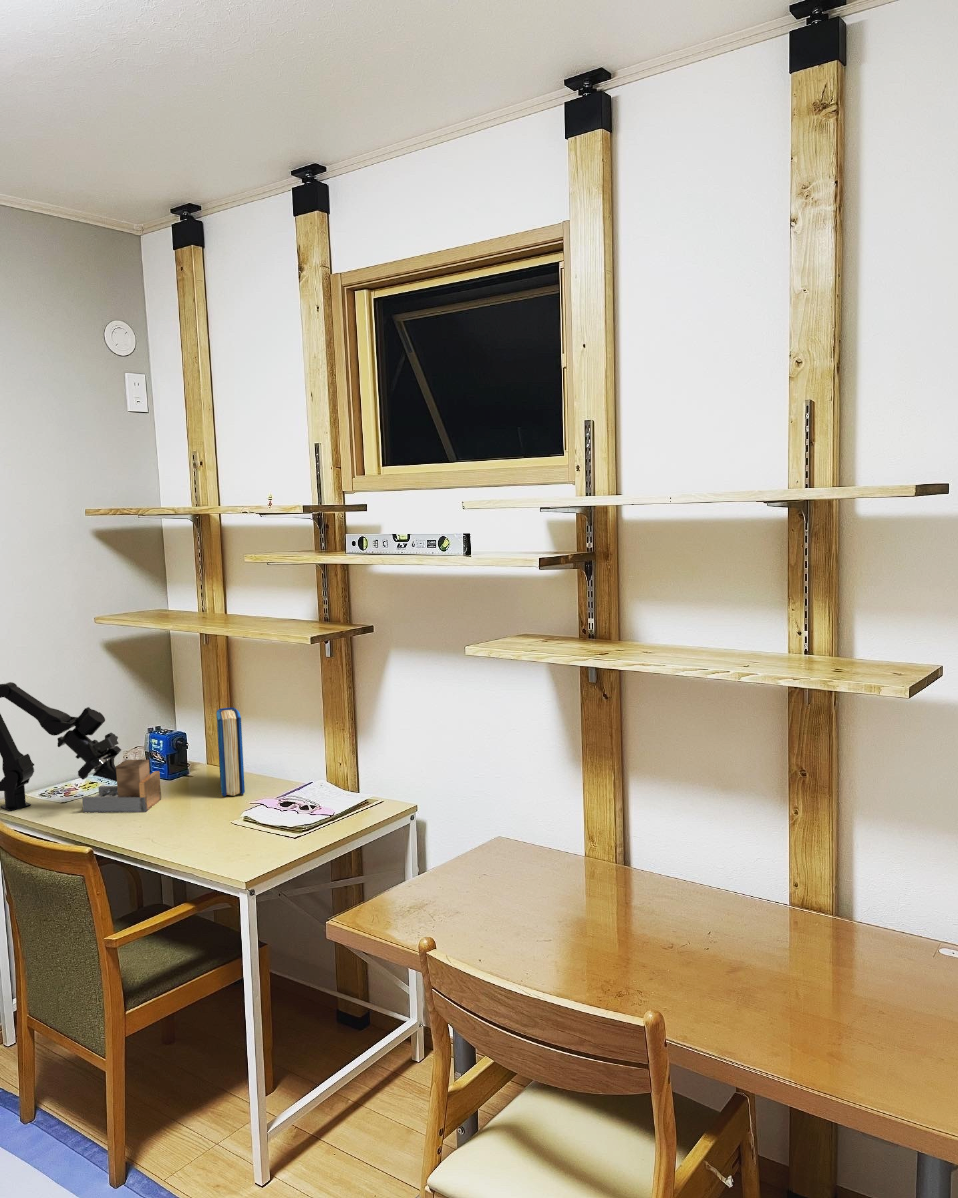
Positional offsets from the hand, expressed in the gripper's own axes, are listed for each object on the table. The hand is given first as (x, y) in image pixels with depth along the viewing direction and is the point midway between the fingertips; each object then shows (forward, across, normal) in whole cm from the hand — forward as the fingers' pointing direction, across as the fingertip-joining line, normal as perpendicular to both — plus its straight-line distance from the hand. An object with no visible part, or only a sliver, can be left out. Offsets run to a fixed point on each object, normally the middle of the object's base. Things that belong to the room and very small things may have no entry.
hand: (120, 781), depth 289 cm
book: (+26, +18, -14) cm, 34 cm away
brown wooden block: (+6, 0, +1) cm, 6 cm away
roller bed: (+5, 0, +6) cm, 8 cm away
